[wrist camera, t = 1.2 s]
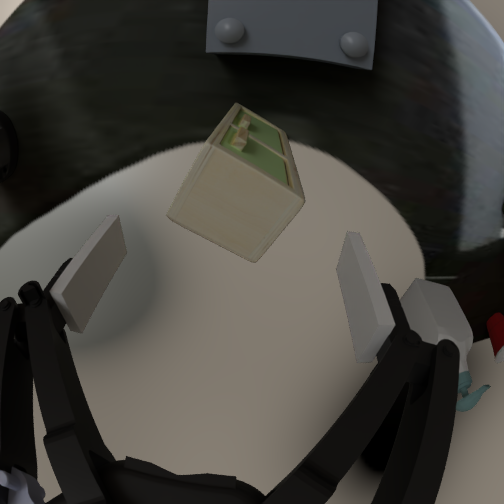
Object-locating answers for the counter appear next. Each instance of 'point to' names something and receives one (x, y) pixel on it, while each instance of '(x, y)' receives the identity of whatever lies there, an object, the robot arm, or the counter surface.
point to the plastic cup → (497, 335)
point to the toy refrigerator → (241, 186)
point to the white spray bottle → (442, 328)
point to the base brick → (295, 29)
